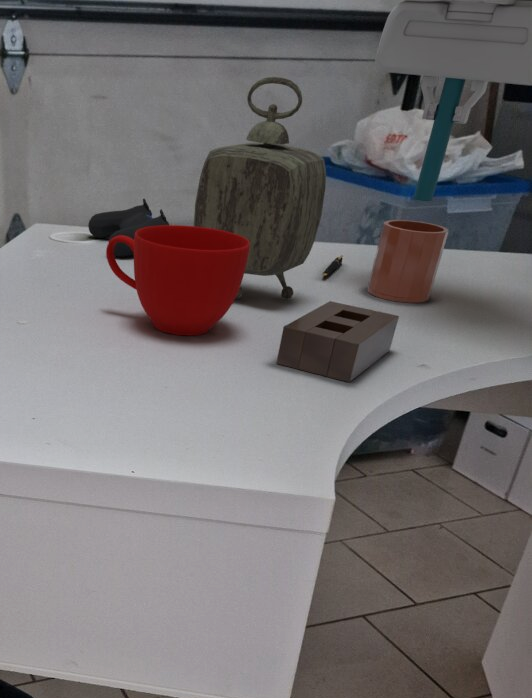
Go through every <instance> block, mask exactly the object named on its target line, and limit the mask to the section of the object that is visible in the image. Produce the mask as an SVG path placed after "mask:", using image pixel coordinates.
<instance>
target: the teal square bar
mask: <svg viewBox="0 0 532 698" xmlns="http://www.w3.org/2000/svg"><path fill="white" fill-rule="evenodd" d="M466 81H467V80H466V79H455V78H445V77H444V83H443V85H442V89H441V94H440V97H439V101H438V103H437V104H438V108H437V112H436V116H435V119H434V120H433V124H432V127H431V131H430V135H429V139H428V143H427V146H426V150H425V154H424V156H423V161H422V164H421V168H420V172H419V176H418V179H417V183H416V186H415V191H414V194H413V199H414V200H416V201H421V202H432V201H433V198H434V195H435V191H436V188H437V185H438V180H439V177H440V174H441V170H442V167H443V163H444V159H445V155H446V152H447V149H448V145H449V141H450V137H451V134H452V131H453V127H454V124H455V123H454V122H452V120H453V116H454V115H455V113H454V112H455V109H456V106H460V102H461V98H462V94H463V92H464V88H465V85H466Z"/></svg>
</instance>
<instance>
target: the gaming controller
mask: <svg viewBox="0 0 532 698" xmlns="http://www.w3.org/2000/svg"><path fill="white" fill-rule="evenodd" d="M161 225H170V223H169V221H168V220H167V217H166V215H165V213H164V211H163V209H162V208H161V209H160V210H159V216H155V217H153V212H152V210H151V209H150V205H149V204H148V203H147V200H146V198H142V204H140V205H135V206H133V207H130V208H127V209H123V210H112V211H103V212H100V213H95V214H94V215H92V216H91V218H90V219H89V221H88V226H87V227H88V231H89V233H90V234H91V235H92V236H93V238H96V239H108V238H109V239H108V243H109V242H110V240H111V239H112V238H114V237H116V236H119V235H124V236H128V237H130V238H132V239H133V240H134V237H135V232H136V231H137V230H139V229H141V228H145V227H150V226H161ZM132 255H133V256H134V253H133V251H132V249H131V248H130V247H129V246H128V245H127V244H125V243H123V242H117V243H116V244H115V246H114V257H118V258H123V257H129V256H132Z"/></svg>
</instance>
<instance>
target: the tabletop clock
mask: <svg viewBox="0 0 532 698" xmlns="http://www.w3.org/2000/svg"><path fill="white" fill-rule="evenodd" d="M269 84H275V85H282V86H286V87H288V88H290V89H292V91H293V92H294V93H295V94H296V96H297V100H298V101H297V104H296V106H295V107H294V108H292V109H291V110H289V111H284V112H278V106H277V104H276V103H275V104H274V103H272V104H270V105H268V109H267V110H263V109H261V108H259V107H257V106H256V105H255V104H254V103H253V102H252V96H253V93H254V92H255V91H256V90H257V89H258V88H260V87H261V86H265V85H269ZM246 100H247V105H248V107H249V108H250V110H251V111H252V113H254V114H256V115H257V116H259V117H262V118H265V119H266V120H263V121H259V122H257V123H256V124H255V125H253V127H252V128H251V129H250V131H248V134H247V136H246V139H245V140H247V142H246V143H241V144H233V145H226V146H219V147H217V148H214V149H212V150H210V151H209V152H208V154H207V156H206V158H205V161H204V163H203V165H202V168H201V172H200V176H199V182H198V187H197V192H196V197H195V203H194V213H193V214H194V215H193V216H194V217H193V226H195V227H204V228H211V229H217V230H222V231H227V232H231V233H234V234H237V235H240V236H242V237H244V238H246V239H247V240H248V241H249V242H250V248H249V254H248V259H247V264H246V268H245V272H244V275H253V276H263V277H269V276H276V278H277V279H278V281H279V283H280V285H281V288H282V289H281V291H280V295H281V297H282V298H283V299H285V300H288V299H291V298H292V297H293V295H294V289H293V287H291V286H289V285H287V282H286V278H285V272H287V271H289V270H292V269H294V268H296V267H299V266H301V265H303V264H304V263H305V262H306V261H307V258H308V257H309V255H310V253H311V251H312V249H313V246H314V243H315V240H316V237H317V234H318V230H319V227H320V223H321V219H322V215H323V209H324V201H325V196H326V195H325V194H326V185H327V184H326V183H327V170H326V162H325V159H324V158H323V157H322V156H320V155H319V154H317V153H316V152H313V151H311V150H309V149H305V148H301V147H297V146H292V145H288V144H290V138H289V134H288V130H287V128H286V127H285V126H284V125H283V124H282V123H280V122H277V121H276V120H282V119H287V118H289V117H292V116H293V115H295V114H296V113H298V112H299V110H300V108H301V107H302V105H303V94H302V91H301V89H300V87H299V86H298V84H296V83H295V82H294V81H293V80H291V79H288V78H284V77H279V76H267V77H264V78H262V79H259V80H257V81H256V82H255V83H254V84H253V85H252V86H251V87H250V88H249V91H248V93H247V99H246ZM242 295H243V288H242V287H241V286H240V288H239V291H238V293H237V296H236V298H235V300H237V299H240V298H241V297H242Z"/></svg>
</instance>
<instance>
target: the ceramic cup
mask: <svg viewBox="0 0 532 698" xmlns="http://www.w3.org/2000/svg"><path fill="white" fill-rule="evenodd" d="M117 242H123V243H125V244H127V245H128V246H129V247H130V248H131V249H132V251H133V253H134V254H133V275H134V278H132V277H131V276H129V275H128V274H127V273H126V272H124V271H123V270H122V268H120V266H119V264H118V262H117V260H116V256H114V246H115V244H116V243H117ZM107 243H108V244H107V245H106V251H105V252H106V253H105V255H106V259H107V264H108V266H109V268H110V270H111V272H112V273H113V274H114V275H115V276H116V278H118V279H119V280H120V281H122V282H123V283H124V284H126V285H127V286H129V287H131V288H132V289H134V290H136V292H137V297H138V300H139V302H140V305H141V307H142V309H143V311H144V312H145V314H146V315H147V317H148V318H149V320H150V321H151V322H152V324H153V327H154V328H155V329H157V330H159V331H161V332H164V333H166V334H171V335H177V336H200V335H203V334H207V333H209V332H210V329H212V327H214V326H216V324H217V323H218V322H219V321H220V320H221V319H222V318H223V317H224V316H225V315H226V314H227V313H228V311H229V309H230V308H231V307H232V305H233V304H234V302H235V300H236V299H235V298H236V296H237V293H238V291H239V288H240V287H241V286H242V282H243V278H244V276H245V274H244V272H245V268H246V264H247V259H248V254H249V248H250V242H249V241H248V240H247V239H246V238H244V237H242V236H240V235H237V234H234V233H231V232H227V231H222V230H217V229H211V228H204V227H195V226H194V225H181V224H180V225H179V224H169V225H161V226H150V227H145V228H141V229H139V230H137V231H136V232H135V237H134V240H133V239H132V238H130V237H128V236H124V235H119V236H116V237H114V238H112V239H111V240H110V242H109V241H108V242H107Z"/></svg>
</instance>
